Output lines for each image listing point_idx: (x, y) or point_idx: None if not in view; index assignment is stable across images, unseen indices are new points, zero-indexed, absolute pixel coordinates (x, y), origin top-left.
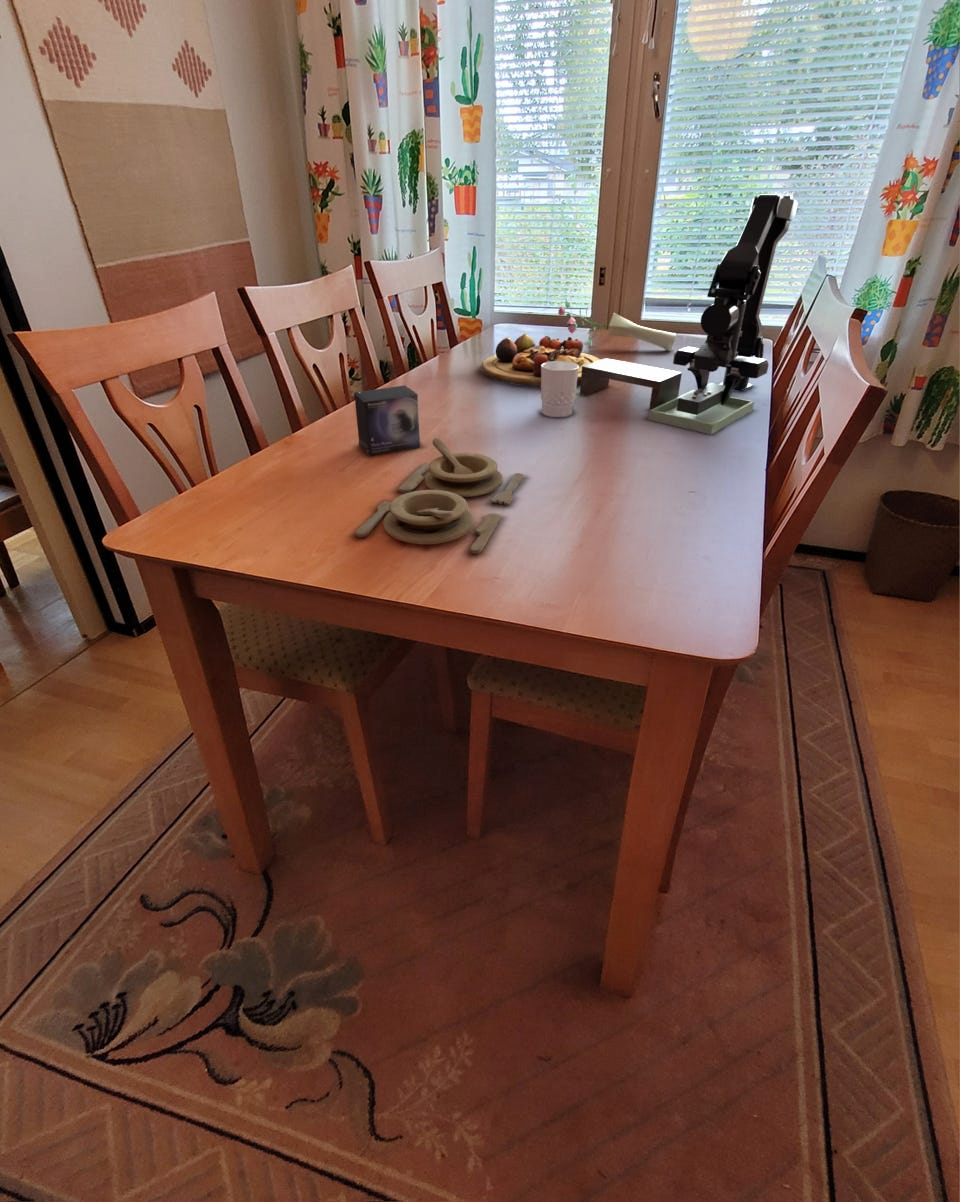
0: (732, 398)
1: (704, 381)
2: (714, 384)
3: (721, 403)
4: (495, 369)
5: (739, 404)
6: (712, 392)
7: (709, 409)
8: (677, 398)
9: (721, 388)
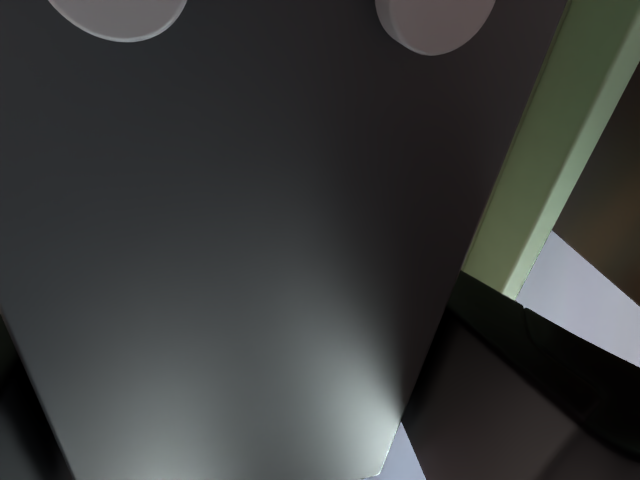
0: None
1: (466, 425)
2: (321, 468)
3: None
4: None
5: None
6: (92, 109)
7: None
8: (610, 81)
9: (141, 437)
